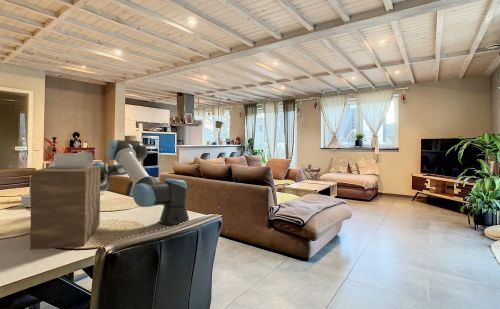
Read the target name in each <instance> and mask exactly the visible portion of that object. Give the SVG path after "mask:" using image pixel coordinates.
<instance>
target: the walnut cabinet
mask: <svg viewBox="0 0 500 309" xmlns="http://www.w3.org/2000/svg"><path fill="white" fill-rule="evenodd" d="M100 175H101V166H91V167H88V168H54V166H52V167H49V166H48V167H43V168H39V169H35V170H31V171H30V194H31V208H30V231H29V232H30V234H29V235H30V237H29V238H30V239H29V241H30V242H29V247H30V248H29V250H31V251H32V250H42V249H45V250H46V249H59V248H68V247H69V248H70V247H72V248H73V246H74V247H84V246H86V244H87V242H88V241H89V240H90V239H91V237H92V236H93V235H94V234H95V232H96V231H97V230H98V228H99V227H100V214H101V208H100V207H101V191H100Z"/></svg>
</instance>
